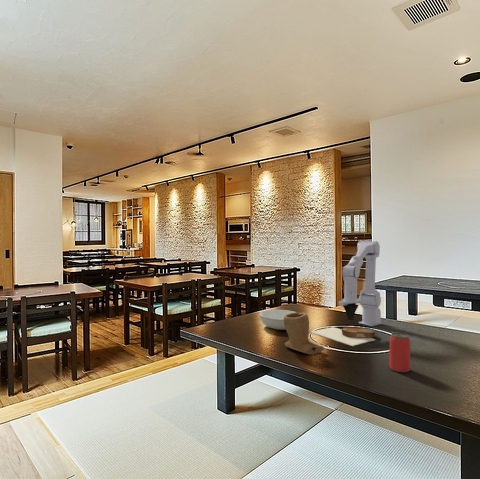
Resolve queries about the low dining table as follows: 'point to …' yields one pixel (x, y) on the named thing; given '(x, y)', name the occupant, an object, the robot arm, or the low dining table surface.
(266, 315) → the serving bowl
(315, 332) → the mat
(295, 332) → the tan boot-shaped piece
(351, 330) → the tin
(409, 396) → the low dining table surface
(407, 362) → the beer can
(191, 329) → the low dining table surface
